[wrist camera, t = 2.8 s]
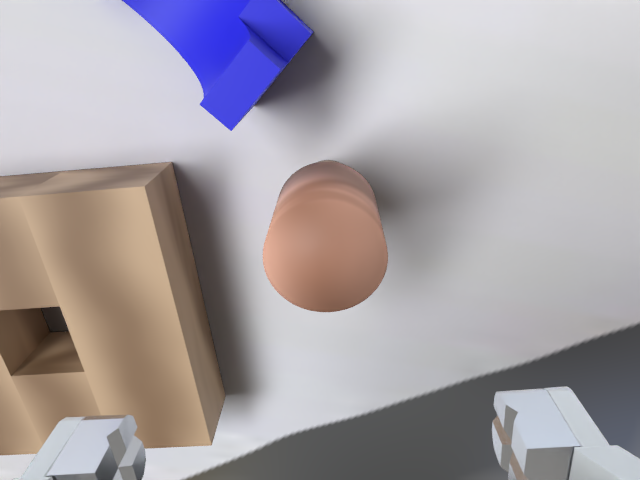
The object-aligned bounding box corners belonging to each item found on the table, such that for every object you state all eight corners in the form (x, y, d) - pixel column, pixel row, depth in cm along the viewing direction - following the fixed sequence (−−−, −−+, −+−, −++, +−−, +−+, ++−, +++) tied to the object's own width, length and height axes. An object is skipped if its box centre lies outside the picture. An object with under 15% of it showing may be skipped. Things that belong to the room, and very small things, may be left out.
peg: (368, 139, 24) (385, 195, 16) (373, 222, 26) (389, 308, 18) (279, 146, 24) (254, 205, 17) (289, 228, 26) (271, 315, 19)
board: (172, 161, 25) (144, 186, 21) (225, 396, 32) (211, 445, 28) (-116, 186, 26) (-189, 213, 22) (-5, 408, 32) (-47, 457, 29)
